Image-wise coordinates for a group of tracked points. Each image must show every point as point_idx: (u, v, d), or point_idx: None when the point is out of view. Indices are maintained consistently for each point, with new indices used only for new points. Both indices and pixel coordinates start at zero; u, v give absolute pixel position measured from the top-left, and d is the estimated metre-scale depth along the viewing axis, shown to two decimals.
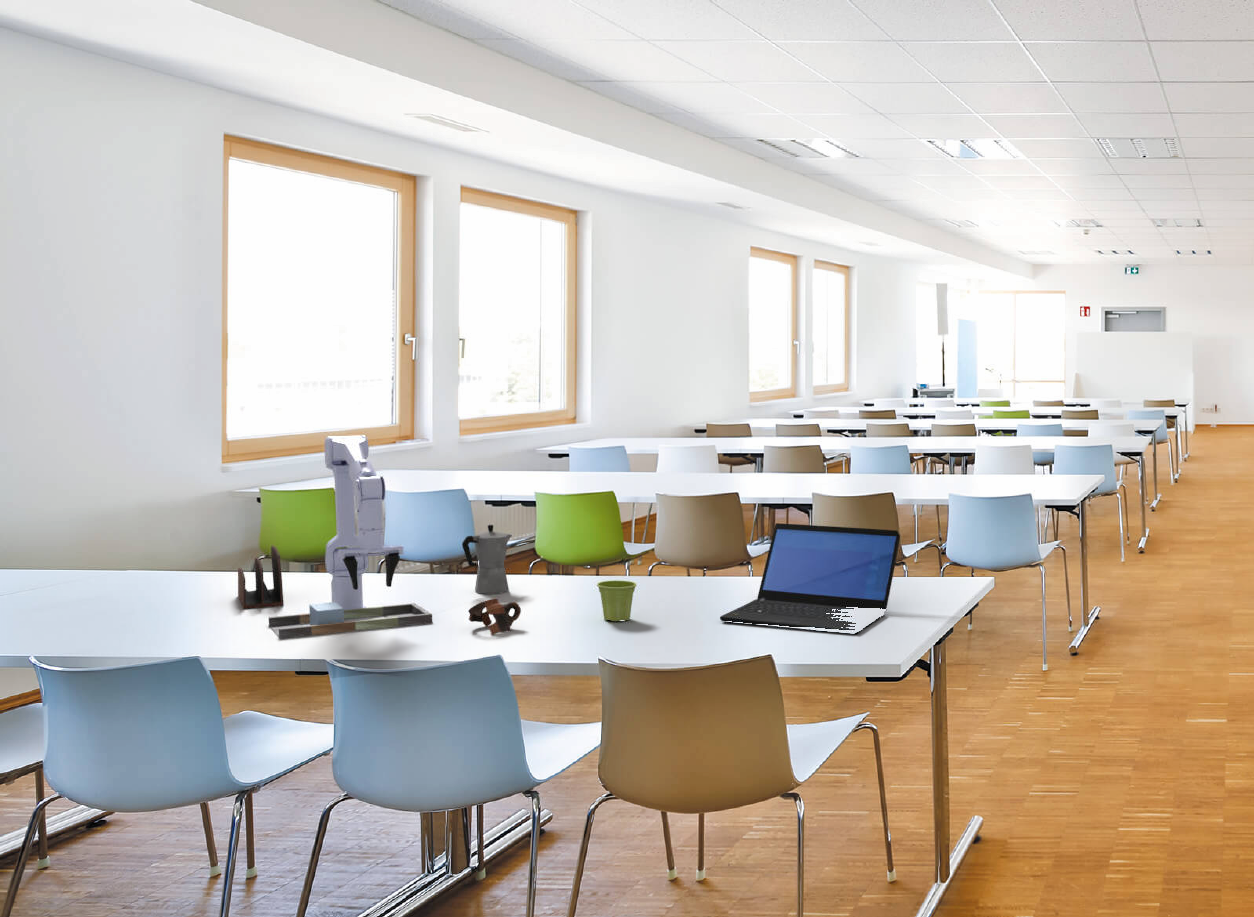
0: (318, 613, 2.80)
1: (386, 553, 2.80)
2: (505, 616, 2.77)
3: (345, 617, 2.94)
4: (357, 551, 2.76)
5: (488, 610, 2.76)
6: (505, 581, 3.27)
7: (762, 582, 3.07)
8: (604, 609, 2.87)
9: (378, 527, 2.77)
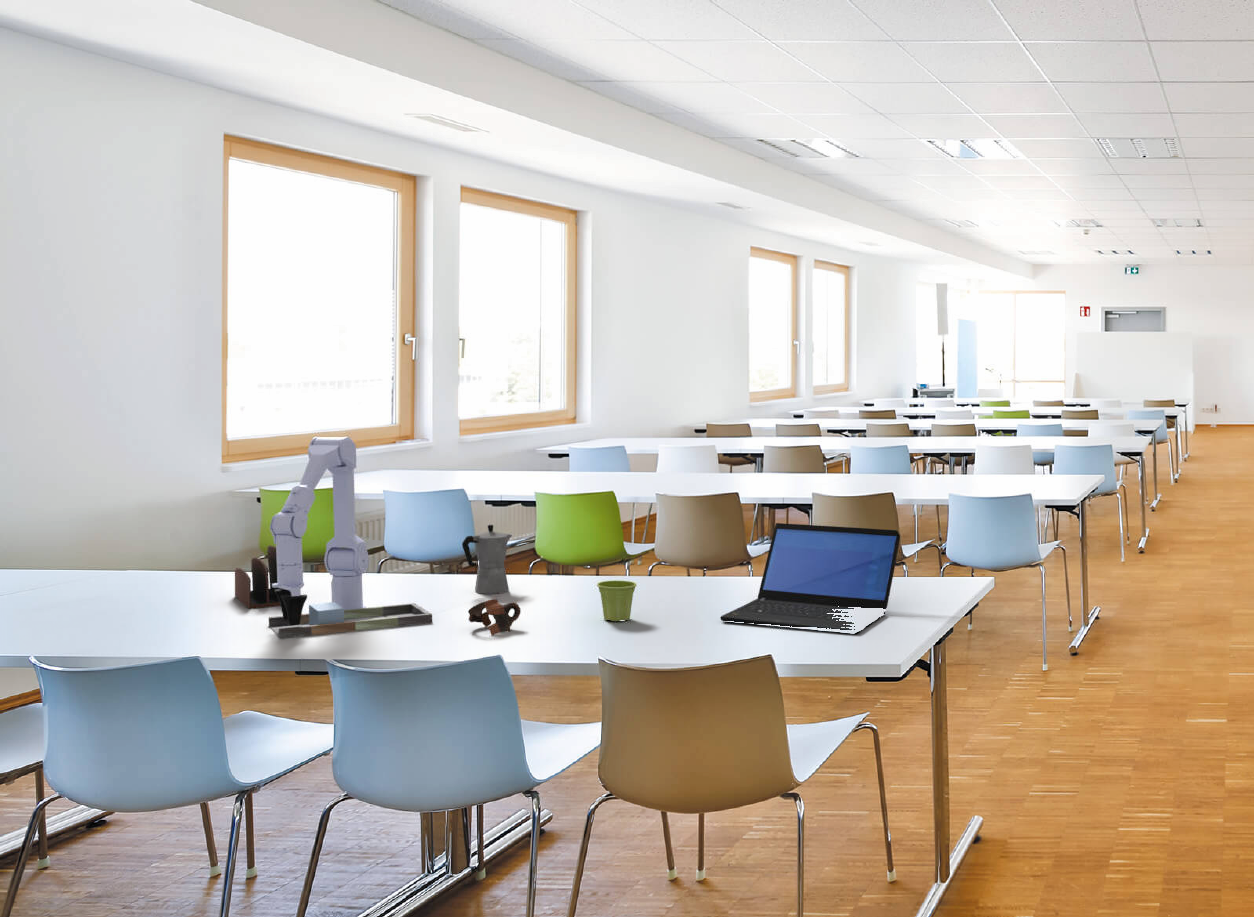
0: (319, 613, 2.80)
1: None
2: (505, 616, 2.77)
3: (345, 617, 2.94)
4: None
5: (488, 610, 2.75)
6: (505, 581, 3.27)
7: (762, 582, 3.07)
8: (604, 609, 2.87)
9: (288, 563, 2.78)
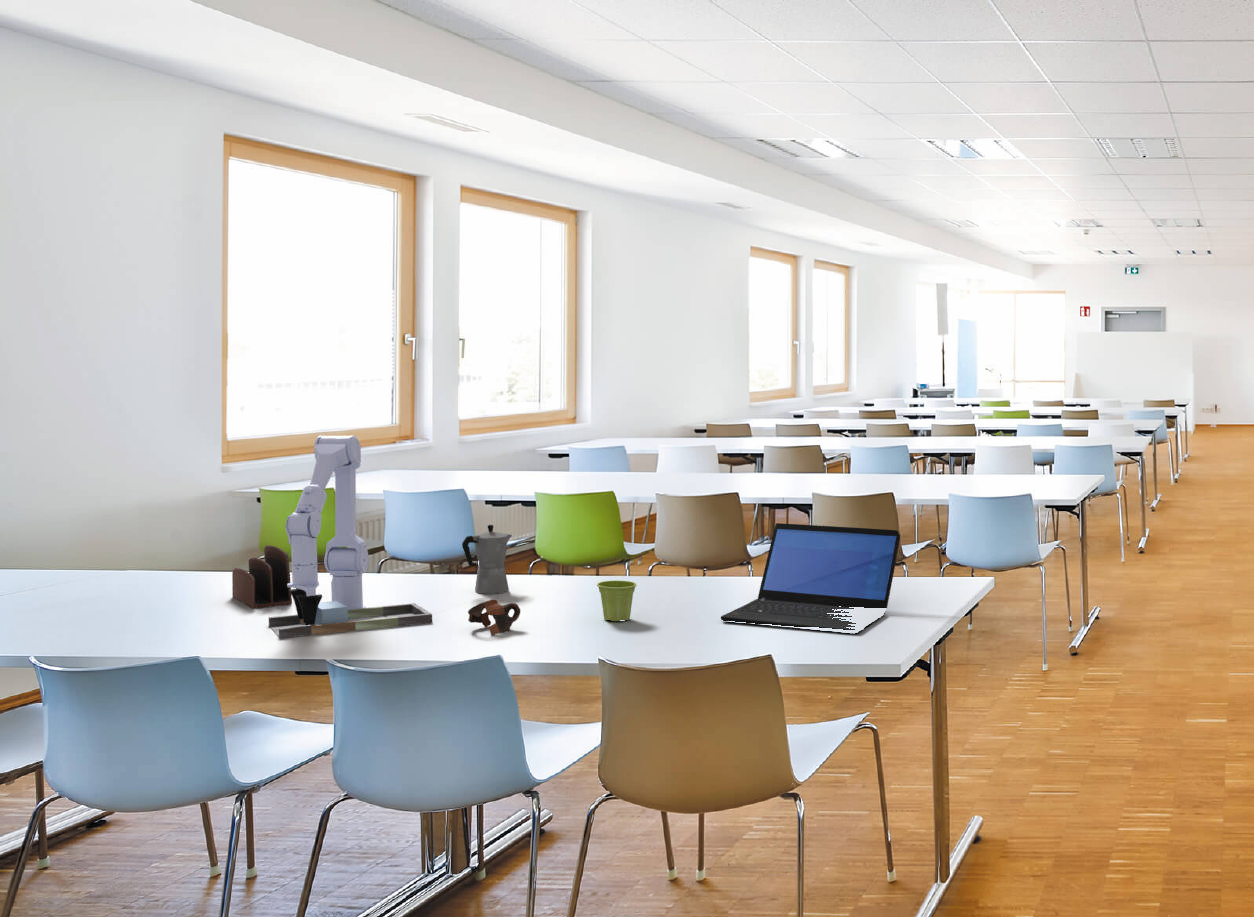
0: (323, 611, 2.80)
1: None
2: (505, 617, 2.77)
3: None
4: None
5: (488, 611, 2.75)
6: (505, 581, 3.27)
7: (762, 582, 3.07)
8: (604, 609, 2.87)
9: (304, 563, 2.79)
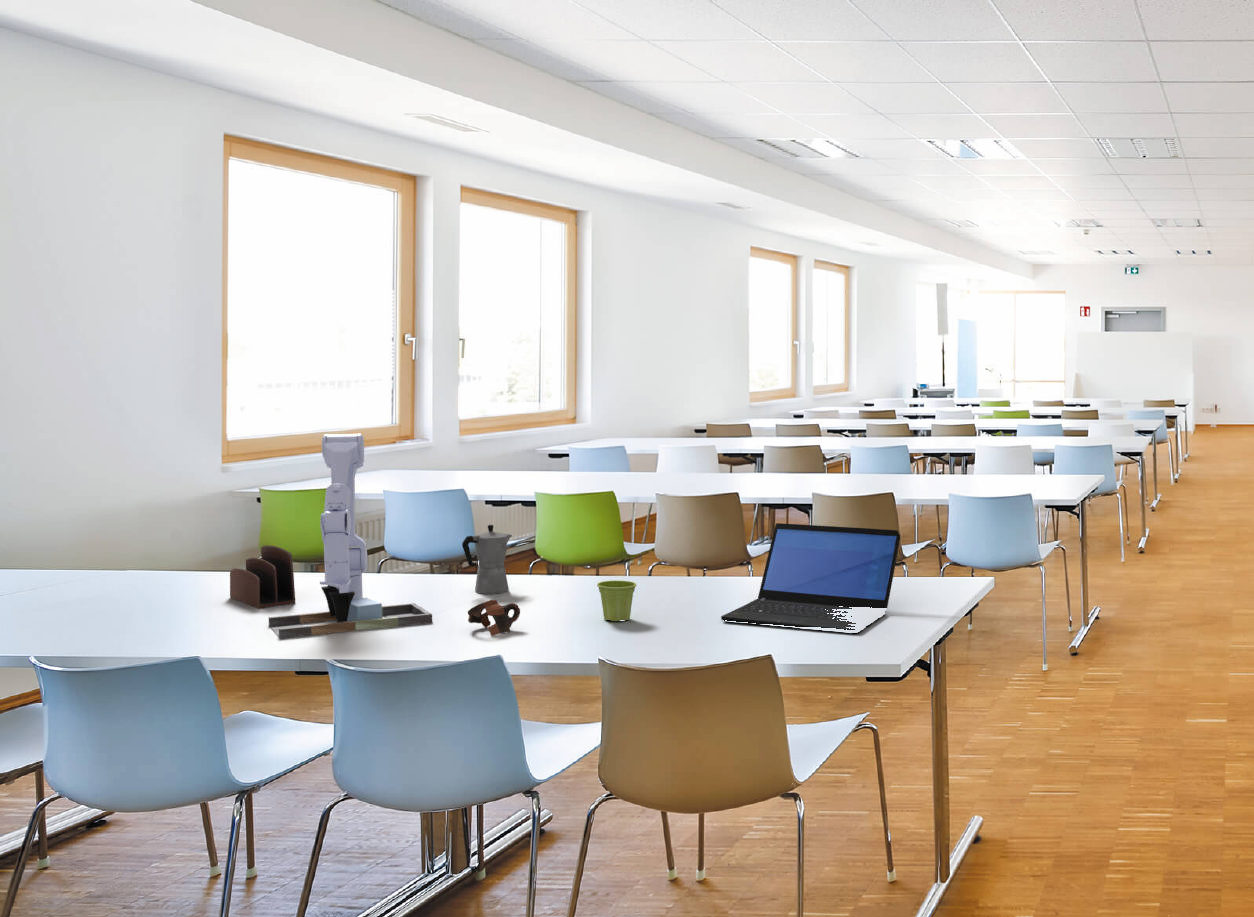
0: (358, 608, 2.83)
1: (339, 588, 2.83)
2: (505, 617, 2.76)
3: None
4: None
5: (487, 611, 2.75)
6: (505, 581, 3.27)
7: (762, 582, 3.07)
8: (604, 609, 2.87)
9: (340, 560, 2.83)
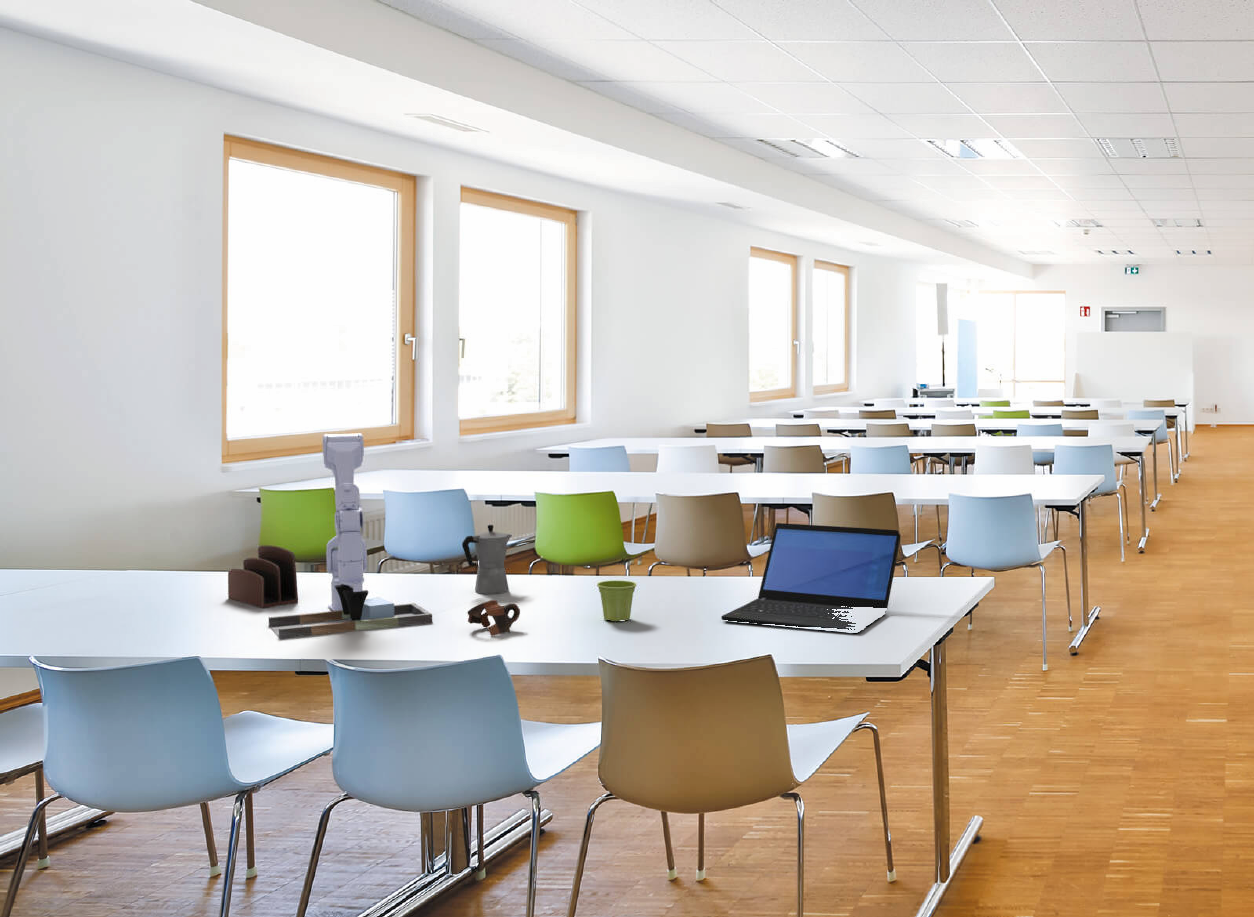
0: (371, 608, 2.85)
1: (353, 587, 2.84)
2: (504, 617, 2.76)
3: (345, 617, 2.94)
4: None
5: (487, 612, 2.74)
6: (505, 581, 3.27)
7: (763, 582, 3.07)
8: (604, 609, 2.87)
9: (356, 559, 2.85)
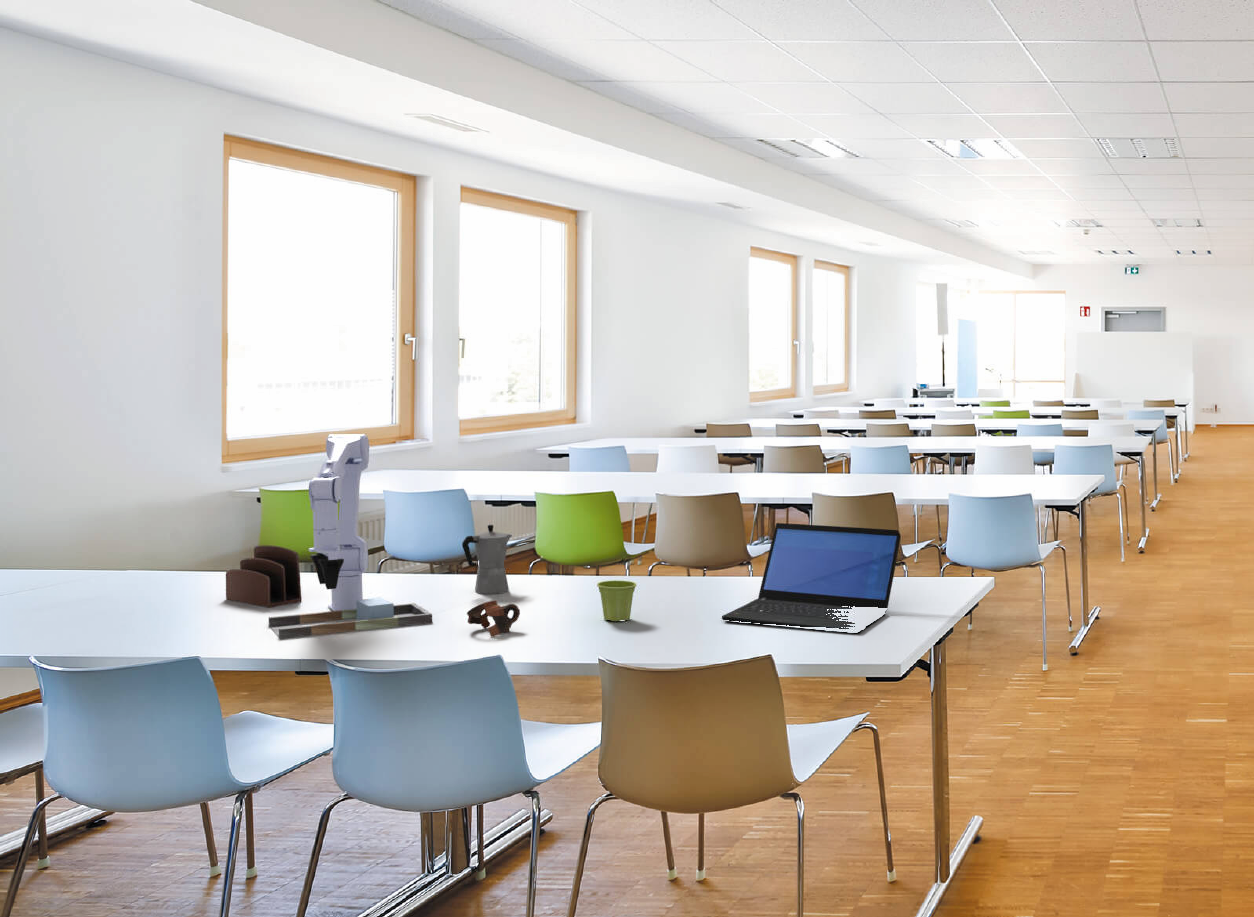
0: (370, 608, 2.85)
1: None
2: (504, 618, 2.75)
3: (345, 617, 2.94)
4: None
5: (487, 612, 2.74)
6: (505, 581, 3.27)
7: (763, 582, 3.07)
8: (604, 609, 2.87)
9: (328, 528, 2.82)
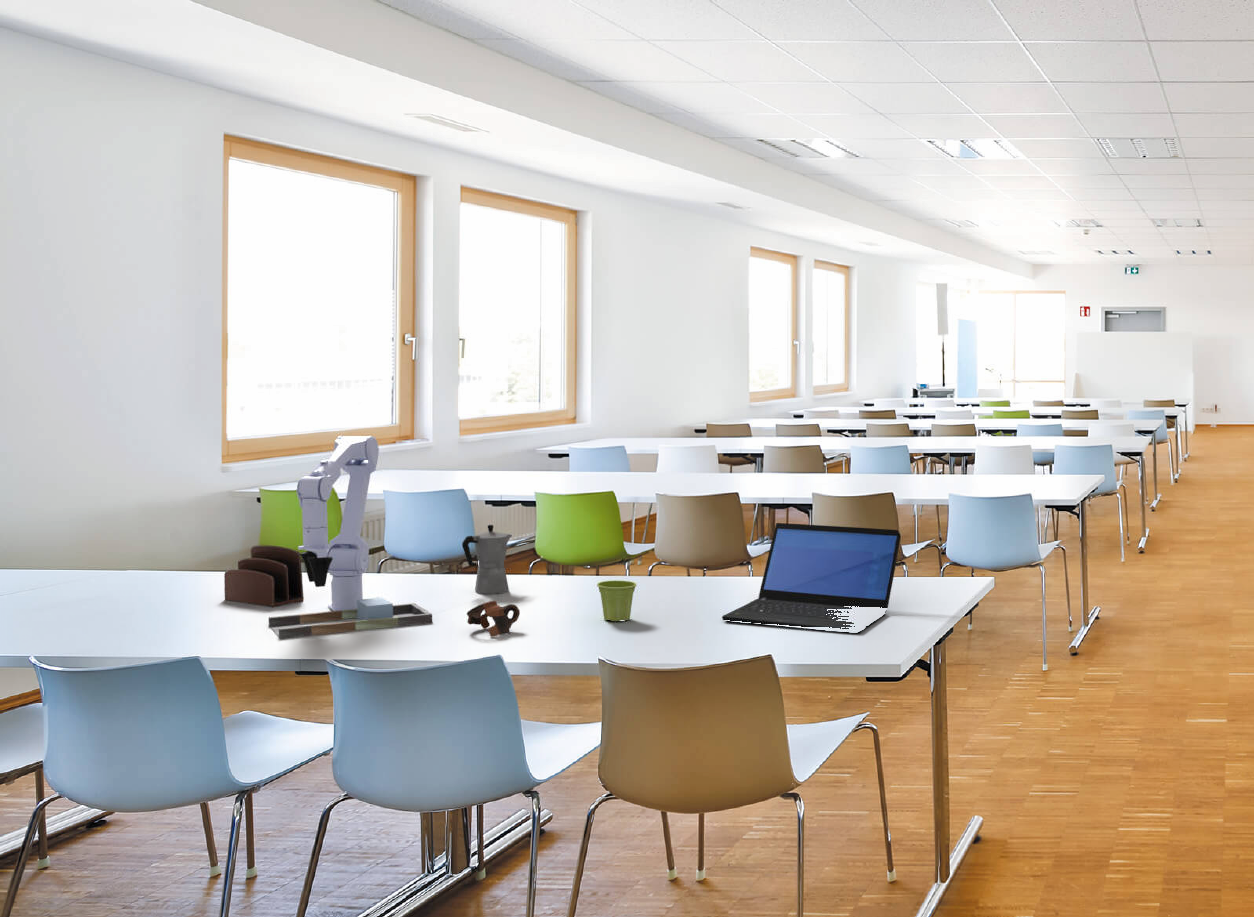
0: (368, 608, 2.85)
1: None
2: (504, 618, 2.75)
3: (345, 617, 2.94)
4: None
5: (487, 612, 2.73)
6: (505, 581, 3.27)
7: (763, 582, 3.07)
8: (604, 609, 2.87)
9: (315, 526, 2.85)
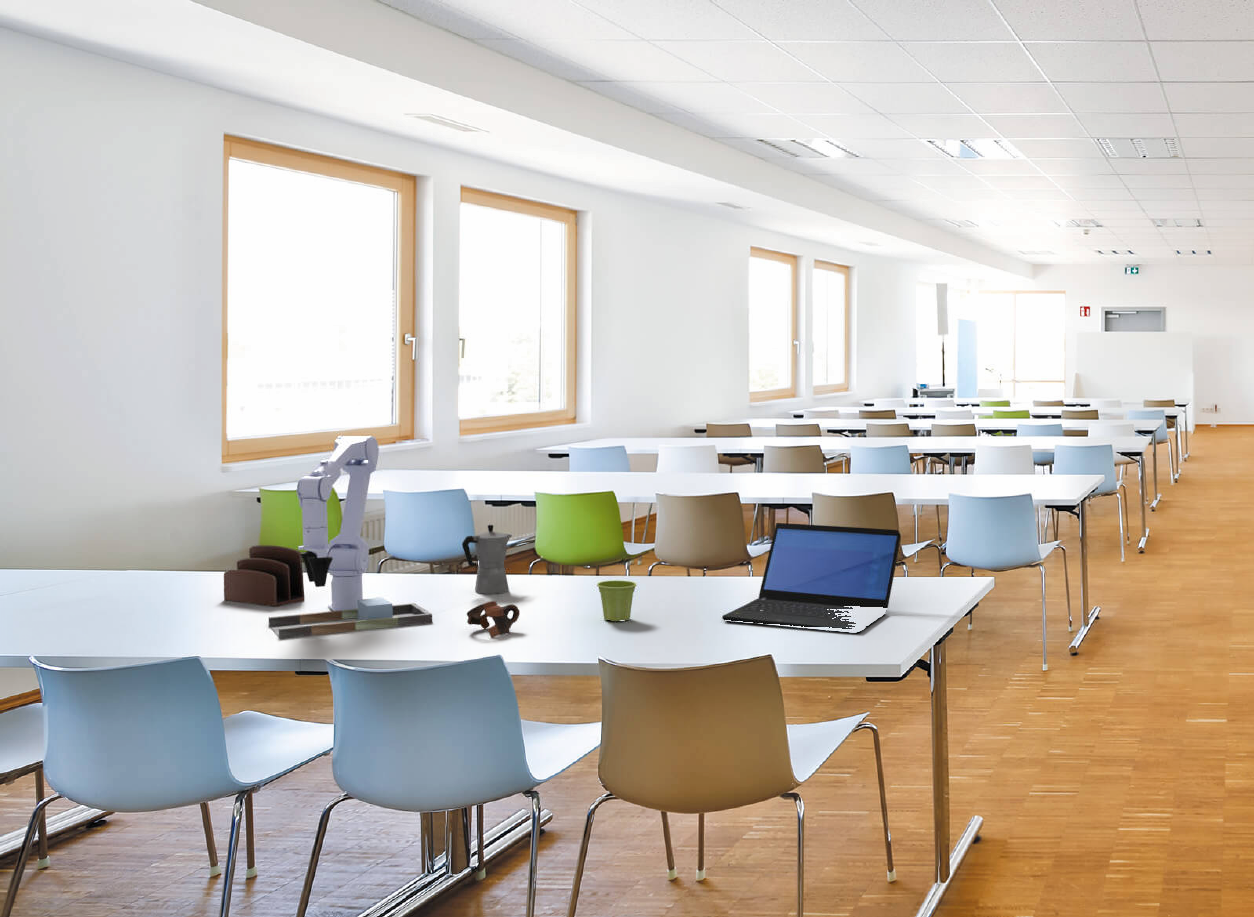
0: (368, 608, 2.85)
1: None
2: (504, 618, 2.75)
3: (345, 617, 2.94)
4: None
5: (487, 613, 2.73)
6: (505, 581, 3.27)
7: (763, 582, 3.07)
8: (604, 609, 2.87)
9: (315, 526, 2.85)
